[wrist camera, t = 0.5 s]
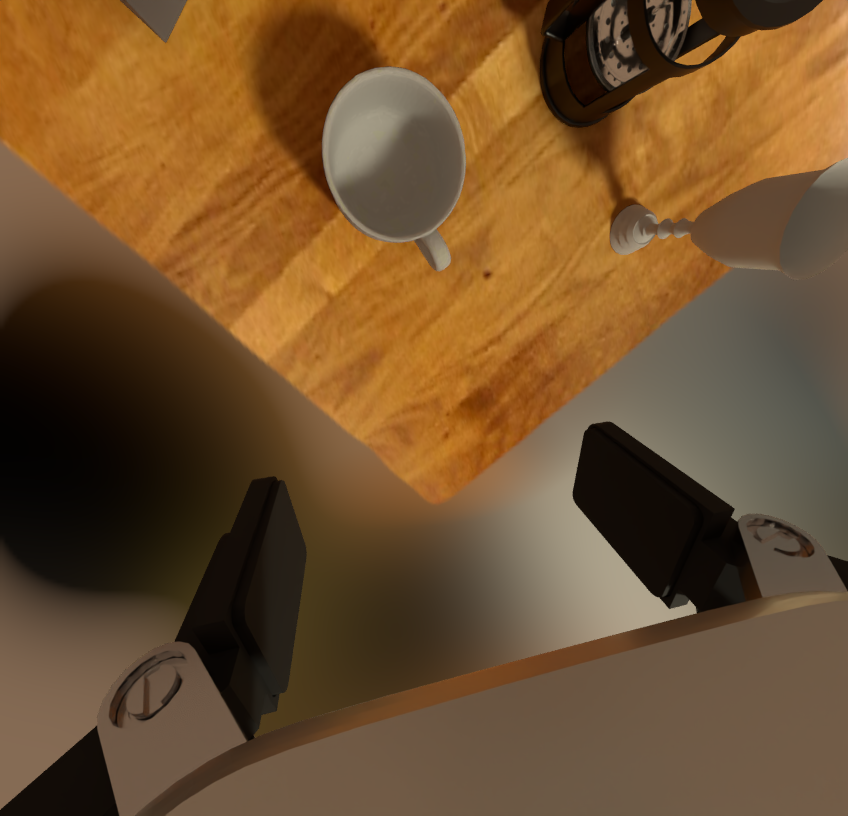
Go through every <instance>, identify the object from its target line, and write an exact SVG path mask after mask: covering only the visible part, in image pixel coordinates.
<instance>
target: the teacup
mask: <svg viewBox="0 0 848 816" xmlns="http://www.w3.org/2000/svg"><path fill="white" fill-rule="evenodd" d="M322 159H323V166H324V172H325V176H326V179H327V183H328V186H329V188H330V190H331V193H332V195H333V197H334V200H335V202H336V204H337V205H338V207H339V209H340V211H341V212H342V214H343V215H344V216H345V218H346V219H347V220H348V221H349V222H350V223H351V224H352V225H353V226H354V227H355V228H356V229H357V230H359V231H360V232H362V233H363V234H365V235H367V236H369V237H371V238H373V239H376V240H380V241H385V242H395V243H397V242H408V241H413V240H414V241H415V243H416V244H417V246H418V247H419V249H420V250H421V252H422V254H423V255H424V257H425V258H426V260H427V261H428V263H429V264H430V266H431V267H432V268H433V269H434V270H436V271H441V270H443V269H445V268H446V267H447V266H448V265H449V264H450V262H451V256H450V253H449V250H448V248H447V245H446V243H445V242H444V240H443V238H442V236H441V235H440V233H439V232H438V231H437V229H436V228H438V227H439V226H440V225H441V224H442V223H443V222H444V221H445V219H446V218H447V217H448V216H449V214H450V213H451V212H452V210H453V208H454V207H455V205H456V202H457V200H458V198H459V196H460V193H461V190H462V187H463V183H464V177H465V169H466V156H465V146H464V139H463V135H462V131H461V127H460V125H459V122H458V119H457V117H456V115H455V113H454V111H453V109H452V107H451V106H450V104H449V103H448V101H447V100H446V98H445V97H444V96H443V94H442V93H441V92H440V91H439V90H438V89H437V88H436V87H435V86H434V85H433V84H432V83H431V82H429V81H428V80H427V79H426V78H424V77H422V76H420V75H419V74H417V73H415V72H413V71H410V70H408V69H404V68H399V67H381V68H374V69H371V70H368V71H365V72H362V73H360V74H358V75H356V76H355V77H354V78H353V79H351V80H350V81H349V82H348V83H347V84H346V85H345V86H344V87H343V88H342V89H341V90H340V91H339V92H338V94H337V95H336V97H335V98H334V100H333V102H332V104H331V106H330V109H329V111H328V114H327V117H326V121H325V124H324V130H323V138H322Z"/></svg>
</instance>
